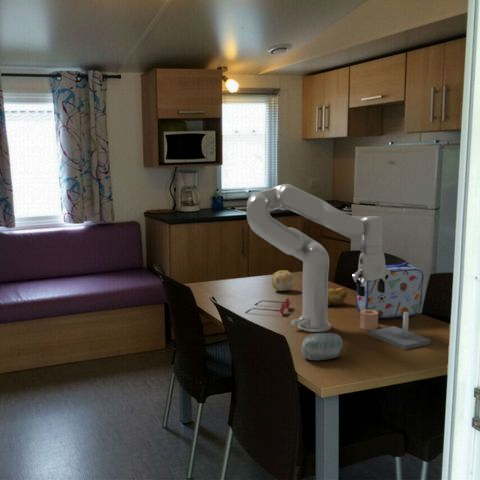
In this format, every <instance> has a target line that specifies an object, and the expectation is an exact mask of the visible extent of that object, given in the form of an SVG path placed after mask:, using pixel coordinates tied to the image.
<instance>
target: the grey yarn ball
mask: <svg viewBox="0 0 480 480" xmlns="http://www.w3.org/2000/svg"><path fill="white" fill-rule="evenodd" d="M343 347H344V341H343V338H342V336H340V334H337V333H333V332H316V333H313V334H309V335H307V336H306V337H305V338H304V339H303V341H302V343H301V354H302V356H303V357H304V358H305V359H306V360H308V361H324V360H325V361H326V360H331V359H336V358H338V357H340V355H341V354H342V353H343V352H342V351H343Z"/></svg>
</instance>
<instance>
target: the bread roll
mask: <svg viewBox="0 0 480 480" xmlns="http://www.w3.org/2000/svg"><path fill="white" fill-rule="evenodd" d="M347 296H348V291H347V288H346V287H345V286H344V287H338V288H328V307H330V306H334V307H335V306H336V307H337V306H342V305H343V304H344V303H345V299H346V298H347Z"/></svg>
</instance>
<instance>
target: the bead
mask: <svg viewBox="0 0 480 480" xmlns="http://www.w3.org/2000/svg"><path fill="white" fill-rule="evenodd" d="M378 326H379V318H378V312H377V311H374V310H361V312H359V328H360V329H362V330H365V331H371V330H376V329H378V328H379V327H378Z"/></svg>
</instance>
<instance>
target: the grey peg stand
mask: <svg viewBox="0 0 480 480" xmlns="http://www.w3.org/2000/svg"><path fill="white" fill-rule="evenodd" d="M409 317H410V316H409V313H408V312H404V313H403V316H402V328H400V327H398V326H395V325H391V326H387V327H383V328H382V327H381V328H377V329H375V330H368V336H370V337H373V338H375V339H378V340H380V341H383V342H384V343H387V344H388V345H389V344H390V345H391V346H395V347H397V348H399V349H401V350H409V349H413V348H418V347H419V348H420V347H423V346H427V345H430V344H431V339H429V338H427V337H424V336H421V335H418V334H416V333H414V332H411V331H409Z"/></svg>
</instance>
